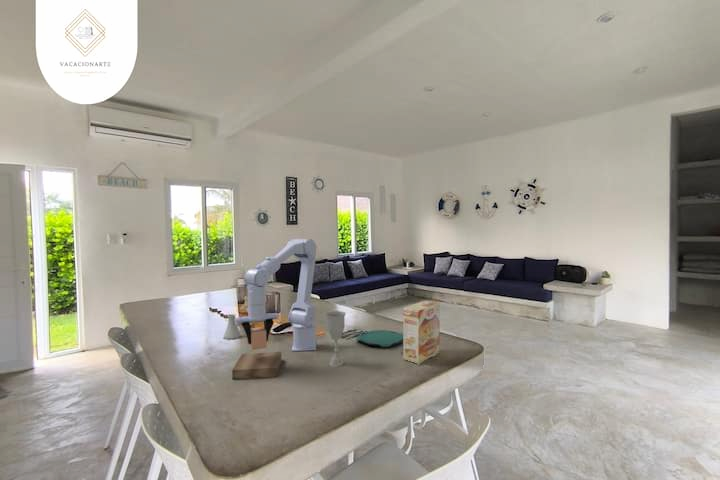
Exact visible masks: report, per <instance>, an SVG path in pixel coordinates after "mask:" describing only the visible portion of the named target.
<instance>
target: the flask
mask: <svg viewBox="0 0 720 480" xmlns="http://www.w3.org/2000/svg"><path fill="white" fill-rule="evenodd" d="M227 318H228V320H227V326H226V329H225V332H224V335H223V339H224V340H236V339H239V338H240V337H241V336H242V334H241V332H240V330H239V327H238V325H236V324H235V318H236V314H234V313H232V314H231V313H230V314H228V315H227Z"/></svg>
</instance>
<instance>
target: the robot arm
mask: <svg viewBox="0 0 720 480" xmlns="http://www.w3.org/2000/svg"><path fill="white" fill-rule="evenodd" d="M317 247H318V246H317V244H316V242H315V240H314V239H312V238H291V239H290V241H287V243H286V246H284V247H283V248H282V249H281V250H280V251H279V252H278V253H277V254H276V255H275V256H266V257H265V258H264V261H262V262H261V263H260V264H257V265H256V266H255V268H250V269H249V270H247V272H246V273H245V275H244V277H243V281H244V283H245V284H246V289H247V300H248V306H247V307H248V315H244V316H239V317H235V324H236V325H237V326H239V325H241V326H242V328H243V330H244V332H245V334H246V338H247V343H248V345H249V344H251V329H252V325H251V323H256V322H263V327H264V328H265V330H266V343H267V342H268V341H269V336H270V332H271V330H272V327H273V325H274V320H279V318H280V315H279V313H278V312H274V313H272V312H271V313H270V312H269V313H268V312H267V313H266V311H267V310H266V307H267V306H266V304H267V303H266V285H267V284H268V282H269V280H270V278H271V276H273V275H274V274H275V273H276V272H278V271H279V270H280V268H281V264H282V263H284V262H286V261H287V260H288V259H289V258H291V257H292V256H295V257H296V258H297V259H298V260H299V261H300V264H301V265H300V272H299V282H298V286H297V287H298V288H297V297H296V301H295V302H293V304H291V306H290V308H291V309H290V310H289V313H288V321H289V323H290V324H291V326H292V338H293V340H292V342H293V343H292V347H291V352H302V351H316V350H317V344H318V339H317V325H314V323H315V321H316V314H315V309H316V307H315V306H314V305H313V304H312V303H311V297H312V288H313V283H314V282H313V281H314V274H315V266H316V265H315V264H316V254H317Z"/></svg>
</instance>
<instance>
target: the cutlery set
mask: <svg viewBox="0 0 720 480" xmlns="http://www.w3.org/2000/svg"><path fill="white" fill-rule="evenodd" d="M357 330H362V332H360V331H357ZM357 330H356V329H355V332H354V330H352V329H347V330H346V331H343V333H342V335H341V337H340V339H343V338H345V340H347V341H348V340H349V339H350V338H355V337H356V341H357V343H358V341H359V342H360V343H362V344H364V345H367V346H368V345H369V346H376V347H381V348H389V347H391V346H396V345H398V344H401V343H403V332H397V331H392V330H386V329H377V330H376V329H375V330H370V331H367V330H365V331H363V329H362V328H361V329H359V328H358V329H357ZM359 332H360V333H359ZM365 332H366V333H365ZM345 333H346V334H345ZM347 333H348V334H347ZM360 334H361V335H360ZM350 335H352V336H350ZM348 336H349V337H348Z"/></svg>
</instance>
